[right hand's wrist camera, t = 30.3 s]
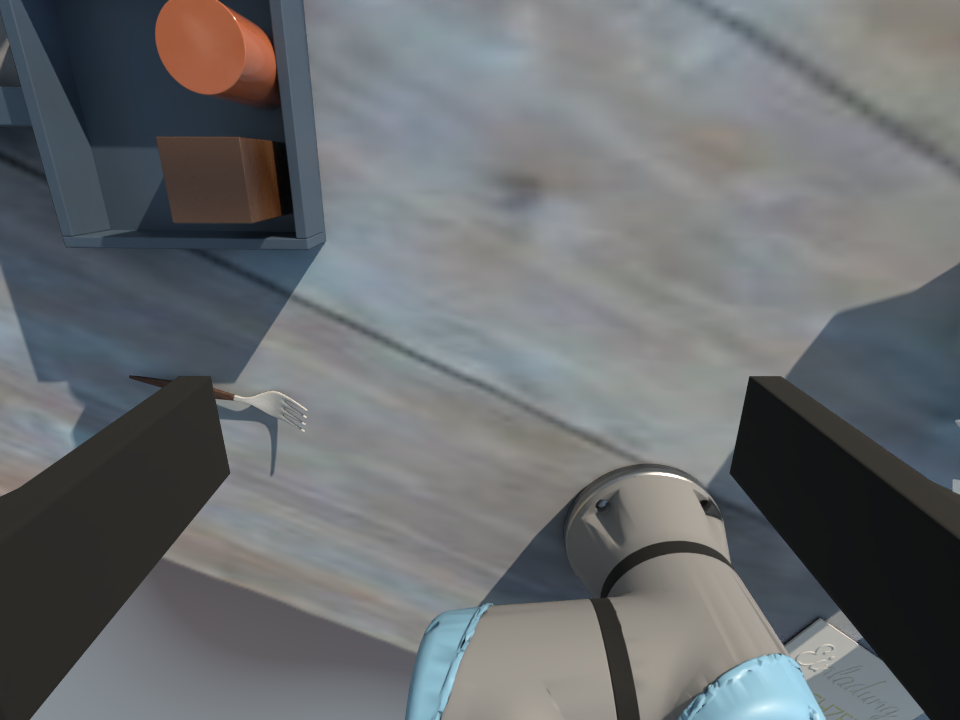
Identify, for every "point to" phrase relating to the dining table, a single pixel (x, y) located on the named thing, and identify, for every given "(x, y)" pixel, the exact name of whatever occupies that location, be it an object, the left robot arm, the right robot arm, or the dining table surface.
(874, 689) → the invitation card
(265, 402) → the fork
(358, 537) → the dining table surface
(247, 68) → the terracotta cylinder
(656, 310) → the dining table surface
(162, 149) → the walnut block
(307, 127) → the tray
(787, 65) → the dining table surface
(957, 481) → the white plastic object
